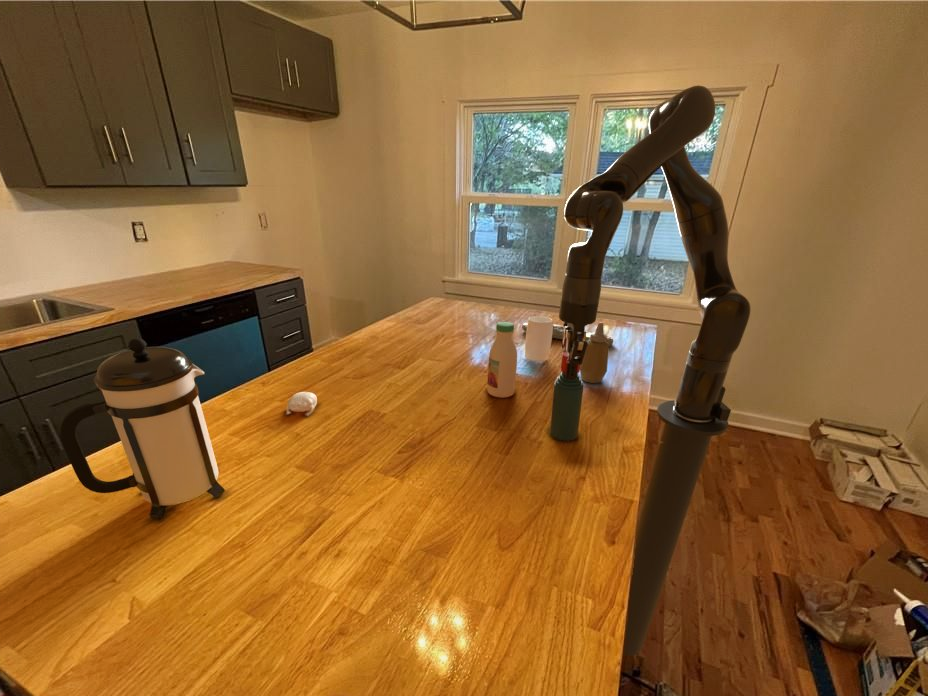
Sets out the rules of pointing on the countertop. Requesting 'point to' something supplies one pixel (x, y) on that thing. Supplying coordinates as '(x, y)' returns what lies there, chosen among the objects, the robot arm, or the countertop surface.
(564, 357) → the cap
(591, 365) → the squeeze bottle
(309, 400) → the white turtle figurine
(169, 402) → the coffee press
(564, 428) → the water bottle
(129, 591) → the countertop surface
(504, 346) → the milk bottle
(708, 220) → the robot arm
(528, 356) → the cup
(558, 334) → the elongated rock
